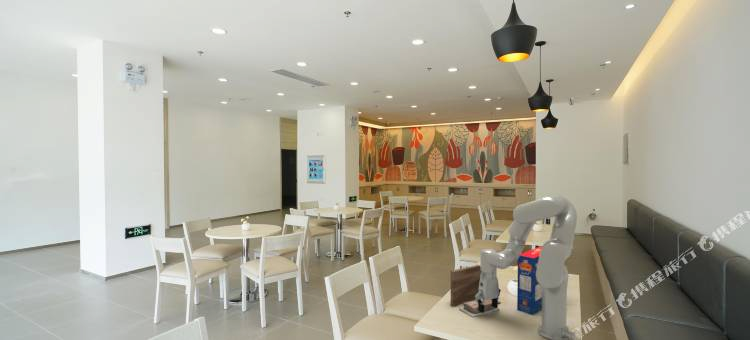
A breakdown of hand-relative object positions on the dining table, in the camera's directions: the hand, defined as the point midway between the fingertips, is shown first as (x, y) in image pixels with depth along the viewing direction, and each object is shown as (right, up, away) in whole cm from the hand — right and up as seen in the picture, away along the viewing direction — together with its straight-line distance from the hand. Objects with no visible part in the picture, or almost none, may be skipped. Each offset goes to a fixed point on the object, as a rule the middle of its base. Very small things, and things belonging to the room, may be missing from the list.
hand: (488, 309), depth 174 cm
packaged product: (-3, -3, +5) cm, 6 cm away
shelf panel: (-7, -2, +15) cm, 17 cm away
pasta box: (+29, -2, +11) cm, 32 cm away
